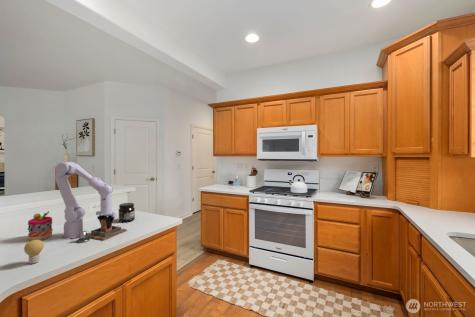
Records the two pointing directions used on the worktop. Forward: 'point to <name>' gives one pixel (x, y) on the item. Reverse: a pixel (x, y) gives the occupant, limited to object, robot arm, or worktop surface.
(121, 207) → the supplement container
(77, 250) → the worktop surface
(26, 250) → the light bulb
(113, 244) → the worktop surface
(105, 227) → the plug block
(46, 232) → the cake
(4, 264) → the worktop surface
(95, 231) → the holder board
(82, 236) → the metal door knob
